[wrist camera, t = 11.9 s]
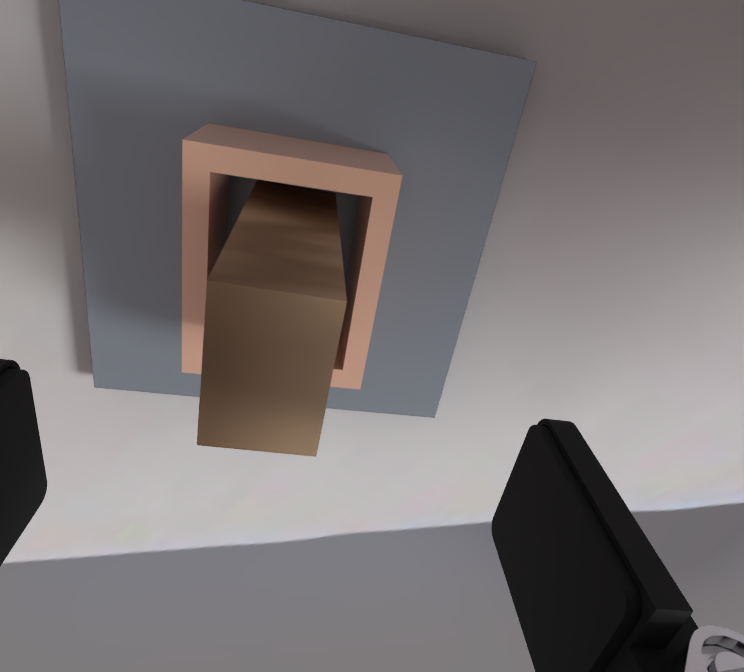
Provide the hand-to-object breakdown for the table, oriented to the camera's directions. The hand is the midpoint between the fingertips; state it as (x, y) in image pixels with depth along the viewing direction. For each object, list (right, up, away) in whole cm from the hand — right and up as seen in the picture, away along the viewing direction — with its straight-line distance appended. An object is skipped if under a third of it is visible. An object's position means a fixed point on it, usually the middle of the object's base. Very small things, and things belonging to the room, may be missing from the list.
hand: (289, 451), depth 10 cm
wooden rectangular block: (-2, +6, +11) cm, 13 cm away
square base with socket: (-2, +6, +12) cm, 14 cm away
